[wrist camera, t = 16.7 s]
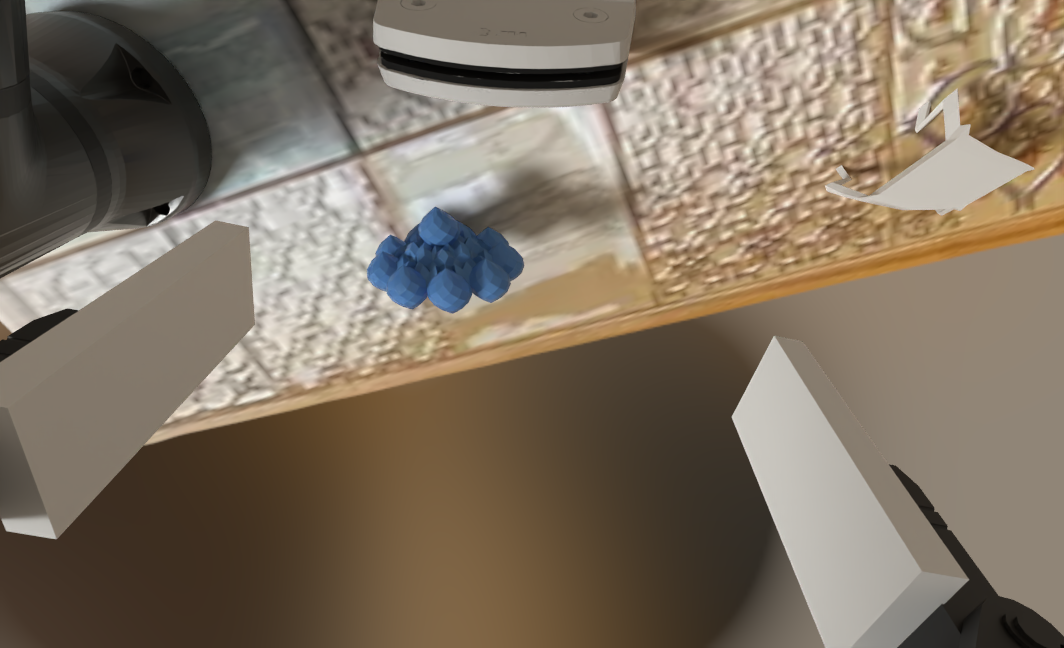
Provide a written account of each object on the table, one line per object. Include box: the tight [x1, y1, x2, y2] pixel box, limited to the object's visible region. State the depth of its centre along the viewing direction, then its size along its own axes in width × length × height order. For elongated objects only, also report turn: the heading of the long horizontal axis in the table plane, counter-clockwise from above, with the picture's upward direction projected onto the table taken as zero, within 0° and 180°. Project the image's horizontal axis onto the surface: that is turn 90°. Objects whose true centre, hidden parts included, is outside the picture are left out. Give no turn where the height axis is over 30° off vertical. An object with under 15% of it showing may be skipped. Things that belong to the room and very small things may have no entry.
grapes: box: [367, 207, 524, 313], centre depth 40 cm, size 12×7×12 cm, turn 94°
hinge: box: [373, 0, 636, 107], centre depth 34 cm, size 17×5×10 cm, turn 87°
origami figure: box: [825, 89, 1034, 216], centre depth 39 cm, size 12×8×5 cm
